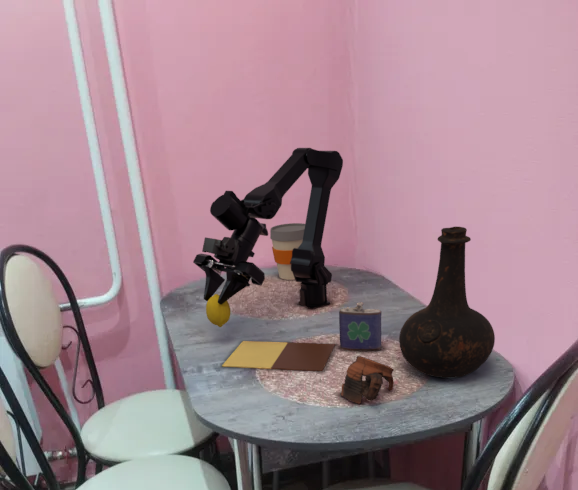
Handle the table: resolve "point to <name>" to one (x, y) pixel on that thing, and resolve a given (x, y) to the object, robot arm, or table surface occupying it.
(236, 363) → the board
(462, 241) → the glass bottle
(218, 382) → the table surface
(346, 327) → the flask
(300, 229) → the reusable coffee cup
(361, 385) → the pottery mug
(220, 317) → the lemon
